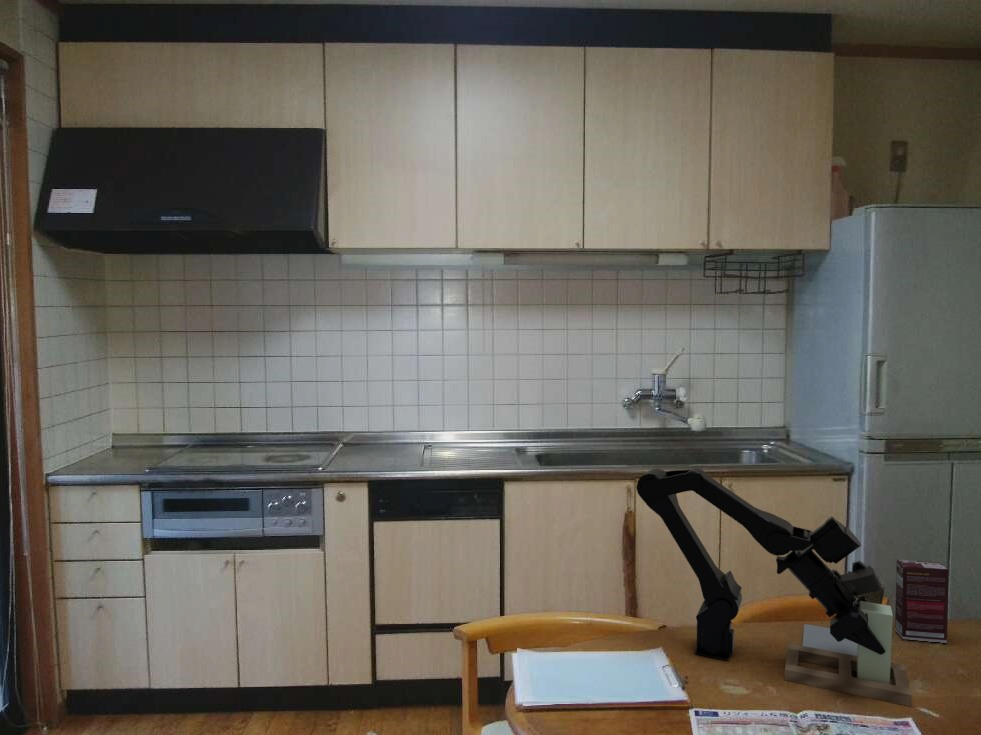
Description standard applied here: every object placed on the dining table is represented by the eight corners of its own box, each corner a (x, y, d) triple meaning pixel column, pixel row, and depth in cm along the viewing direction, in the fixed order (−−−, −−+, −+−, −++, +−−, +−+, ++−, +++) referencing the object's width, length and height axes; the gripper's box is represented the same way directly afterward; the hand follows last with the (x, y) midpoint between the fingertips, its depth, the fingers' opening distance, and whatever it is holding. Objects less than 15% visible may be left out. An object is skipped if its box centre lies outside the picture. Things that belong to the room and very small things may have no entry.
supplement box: (938, 634, 146) (940, 561, 146) (947, 645, 142) (950, 569, 141) (893, 630, 148) (895, 558, 148) (901, 640, 144) (903, 565, 143)
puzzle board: (784, 680, 127) (784, 669, 127) (788, 652, 138) (788, 643, 138) (910, 706, 118) (911, 695, 118) (904, 675, 129) (904, 664, 129)
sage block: (857, 685, 125) (860, 610, 124) (856, 673, 130) (859, 600, 129) (889, 692, 123) (892, 615, 122) (887, 680, 127) (890, 605, 127)
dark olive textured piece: (888, 626, 150) (889, 590, 150) (851, 623, 152) (853, 588, 152) (876, 613, 158) (877, 578, 157) (841, 610, 159) (842, 576, 159)
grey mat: (802, 651, 139) (802, 646, 139) (804, 628, 149) (804, 623, 149) (870, 664, 133) (870, 659, 133) (867, 639, 144) (867, 634, 144)
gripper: (853, 567, 118) (926, 643, 114) (850, 538, 135) (914, 603, 131) (802, 604, 122) (871, 679, 118) (805, 571, 139) (866, 636, 135)
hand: (882, 646), depth 125 cm, fingers closed on sage block, 5 cm apart
